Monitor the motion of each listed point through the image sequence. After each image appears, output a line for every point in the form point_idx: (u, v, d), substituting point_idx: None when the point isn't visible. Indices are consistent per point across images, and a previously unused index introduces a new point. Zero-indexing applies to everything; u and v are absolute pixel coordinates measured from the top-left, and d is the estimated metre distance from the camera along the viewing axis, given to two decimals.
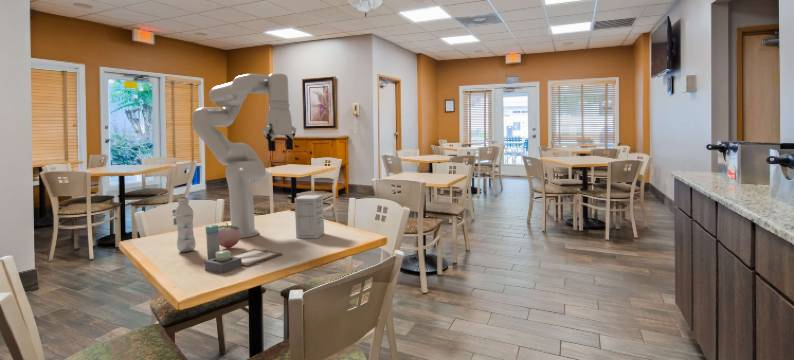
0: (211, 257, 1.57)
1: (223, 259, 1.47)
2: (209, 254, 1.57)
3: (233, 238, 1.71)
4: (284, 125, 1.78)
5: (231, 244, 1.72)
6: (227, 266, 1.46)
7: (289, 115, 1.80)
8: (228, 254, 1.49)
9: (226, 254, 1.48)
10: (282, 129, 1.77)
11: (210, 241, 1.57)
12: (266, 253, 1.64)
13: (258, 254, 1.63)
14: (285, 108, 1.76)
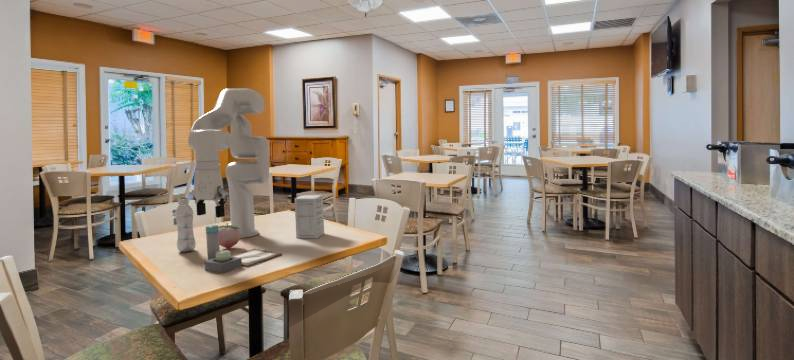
0: (211, 257, 1.57)
1: (223, 259, 1.47)
2: (209, 254, 1.57)
3: (233, 238, 1.71)
4: None
5: (231, 244, 1.72)
6: (227, 266, 1.46)
7: None
8: (228, 254, 1.49)
9: (226, 254, 1.48)
10: None
11: (210, 241, 1.57)
12: (266, 253, 1.64)
13: (258, 254, 1.63)
14: None
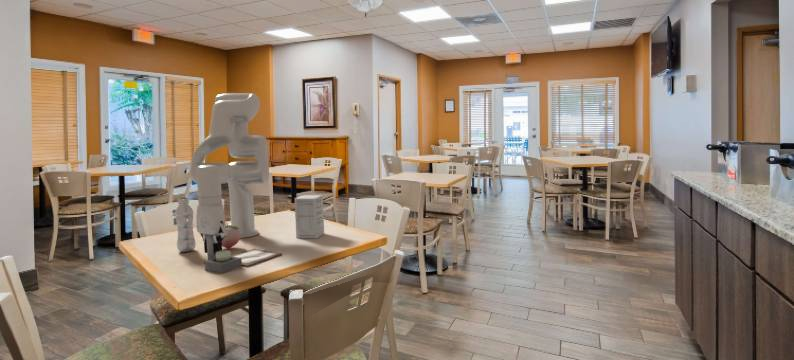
0: (211, 257, 1.57)
1: (223, 259, 1.47)
2: (209, 254, 1.57)
3: (233, 238, 1.71)
4: None
5: (231, 244, 1.72)
6: (227, 266, 1.46)
7: None
8: (228, 254, 1.49)
9: (226, 254, 1.48)
10: None
11: (210, 241, 1.57)
12: (266, 253, 1.64)
13: (258, 254, 1.63)
14: None
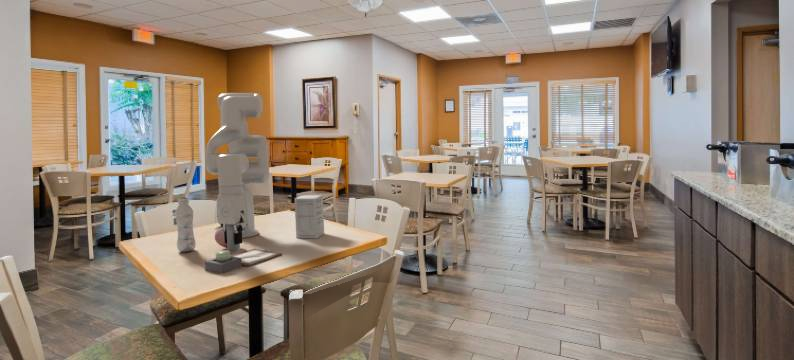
0: (231, 247, 1.56)
1: (223, 259, 1.47)
2: (229, 244, 1.56)
3: None
4: None
5: None
6: (227, 266, 1.46)
7: None
8: (228, 254, 1.49)
9: (226, 254, 1.48)
10: None
11: (230, 231, 1.55)
12: (266, 253, 1.64)
13: (258, 254, 1.63)
14: None
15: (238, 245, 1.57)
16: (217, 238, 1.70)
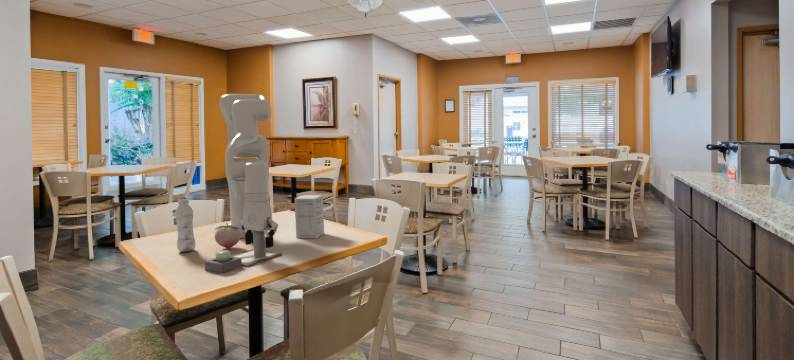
0: (258, 253, 1.59)
1: (223, 259, 1.47)
2: (256, 250, 1.59)
3: (233, 238, 1.71)
4: None
5: (231, 244, 1.72)
6: (227, 266, 1.46)
7: None
8: (228, 254, 1.49)
9: (226, 254, 1.48)
10: None
11: (257, 237, 1.58)
12: (266, 253, 1.64)
13: None
14: None
15: (264, 251, 1.60)
16: (217, 238, 1.70)
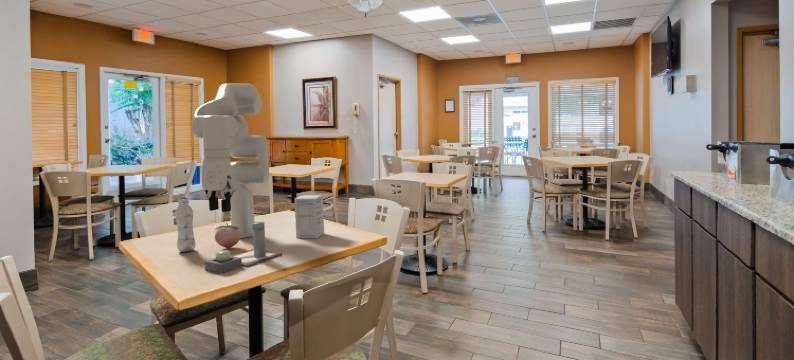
0: (258, 253, 1.59)
1: (223, 259, 1.47)
2: (256, 250, 1.59)
3: (233, 238, 1.71)
4: None
5: (231, 244, 1.72)
6: (227, 266, 1.46)
7: None
8: (228, 254, 1.49)
9: (226, 254, 1.48)
10: None
11: (257, 237, 1.58)
12: (266, 253, 1.64)
13: None
14: None
15: (264, 251, 1.60)
16: (217, 238, 1.70)
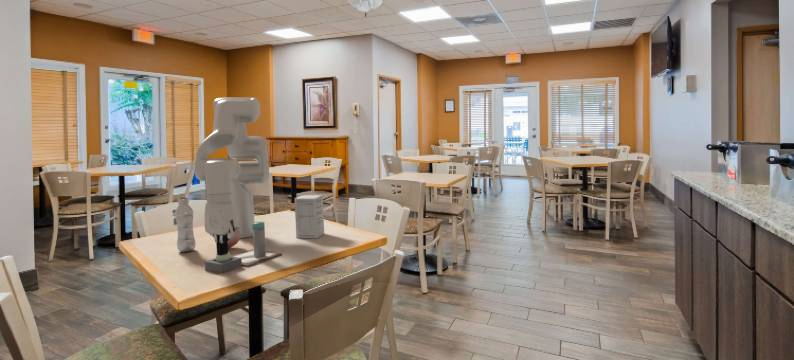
0: (258, 253, 1.59)
1: (223, 261, 1.47)
2: (256, 250, 1.59)
3: (233, 238, 1.71)
4: None
5: (231, 244, 1.72)
6: (227, 266, 1.46)
7: None
8: (228, 256, 1.49)
9: (226, 256, 1.48)
10: None
11: (257, 237, 1.58)
12: (266, 253, 1.64)
13: None
14: None
15: (264, 251, 1.60)
16: None
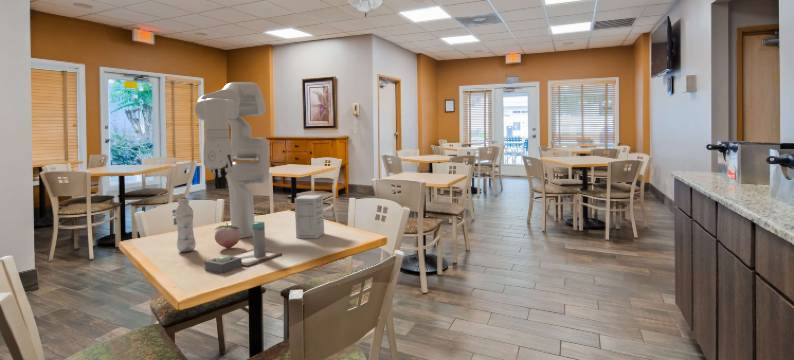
0: (258, 253, 1.59)
1: None
2: (256, 250, 1.59)
3: (233, 238, 1.71)
4: None
5: (231, 244, 1.72)
6: (227, 266, 1.46)
7: None
8: (228, 259, 1.49)
9: (226, 259, 1.48)
10: None
11: (257, 237, 1.58)
12: (266, 253, 1.64)
13: None
14: None
15: (264, 251, 1.60)
16: (217, 238, 1.70)
